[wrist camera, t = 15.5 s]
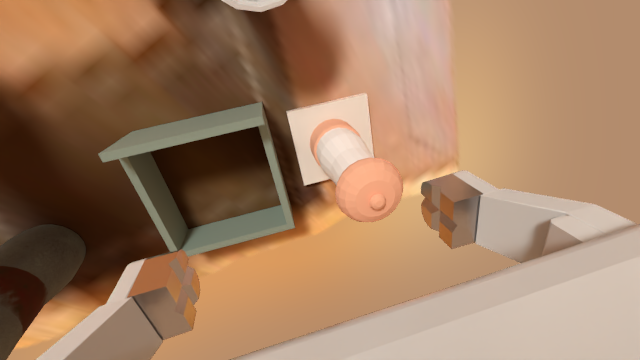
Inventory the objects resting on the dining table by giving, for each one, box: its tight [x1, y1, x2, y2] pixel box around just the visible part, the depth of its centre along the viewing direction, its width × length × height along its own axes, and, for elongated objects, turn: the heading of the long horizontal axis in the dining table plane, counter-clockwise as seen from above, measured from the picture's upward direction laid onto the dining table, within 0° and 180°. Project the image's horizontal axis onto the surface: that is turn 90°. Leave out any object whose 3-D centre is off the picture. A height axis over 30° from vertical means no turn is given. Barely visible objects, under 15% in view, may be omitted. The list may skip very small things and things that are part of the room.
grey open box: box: [98, 102, 295, 256], centre depth 39 cm, size 18×18×9 cm
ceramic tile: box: [286, 93, 374, 185], centre depth 44 cm, size 12×12×1 cm
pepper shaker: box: [310, 119, 403, 222], centre depth 35 cm, size 7×7×19 cm
